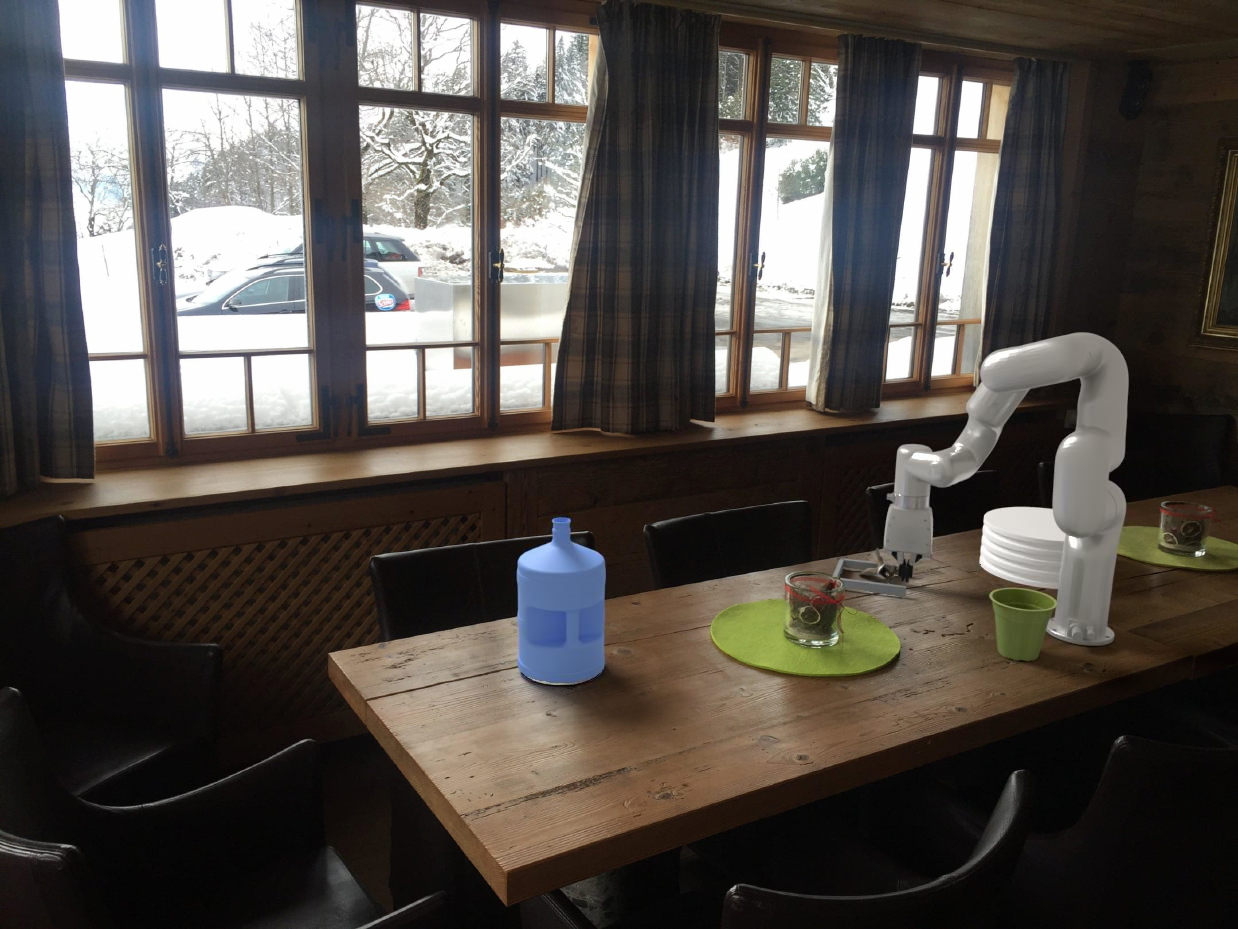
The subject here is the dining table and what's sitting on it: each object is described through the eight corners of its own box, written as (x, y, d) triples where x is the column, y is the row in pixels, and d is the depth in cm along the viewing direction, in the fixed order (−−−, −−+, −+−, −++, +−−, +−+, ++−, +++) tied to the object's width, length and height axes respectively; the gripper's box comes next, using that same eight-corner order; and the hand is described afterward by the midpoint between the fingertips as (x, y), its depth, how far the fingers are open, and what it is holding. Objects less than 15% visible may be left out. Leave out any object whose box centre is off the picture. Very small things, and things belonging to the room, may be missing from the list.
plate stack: (964, 549, 252) (969, 505, 250) (1077, 552, 251) (1083, 508, 249) (1001, 588, 225) (1006, 539, 223) (1128, 592, 224) (1134, 543, 221)
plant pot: (990, 637, 198) (996, 583, 195) (1055, 650, 192) (1062, 595, 189) (977, 658, 188) (983, 601, 185) (1045, 673, 182) (1052, 615, 179)
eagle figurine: (907, 576, 228) (879, 558, 235) (901, 555, 224) (872, 538, 231) (883, 596, 226) (855, 578, 233) (877, 576, 222) (848, 558, 229)
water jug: (508, 657, 185) (506, 512, 179) (588, 646, 191) (589, 504, 184) (531, 694, 171) (530, 537, 164) (617, 680, 176) (619, 528, 170)
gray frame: (905, 598, 217) (906, 587, 217) (830, 589, 223) (831, 578, 222) (909, 576, 231) (910, 566, 231) (839, 568, 236) (840, 558, 236)
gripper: (874, 501, 219) (869, 581, 223) (946, 508, 214) (939, 589, 218) (877, 493, 226) (872, 571, 230) (947, 499, 221) (940, 578, 225)
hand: (905, 579), depth 224 cm, fingers closed
